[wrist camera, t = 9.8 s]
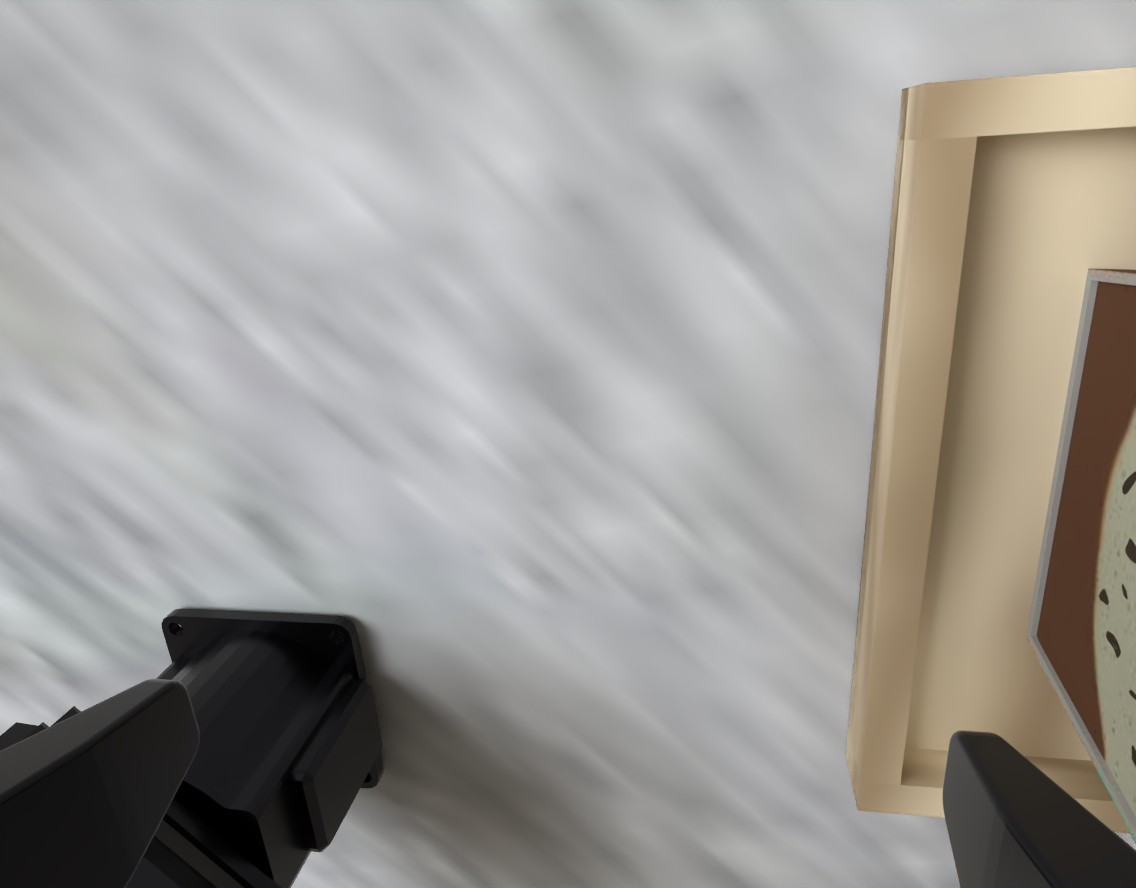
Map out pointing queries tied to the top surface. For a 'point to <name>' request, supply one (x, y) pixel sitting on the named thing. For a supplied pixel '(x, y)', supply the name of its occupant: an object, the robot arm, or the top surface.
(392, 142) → the top surface
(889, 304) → the wooden tray
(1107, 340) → the food container
